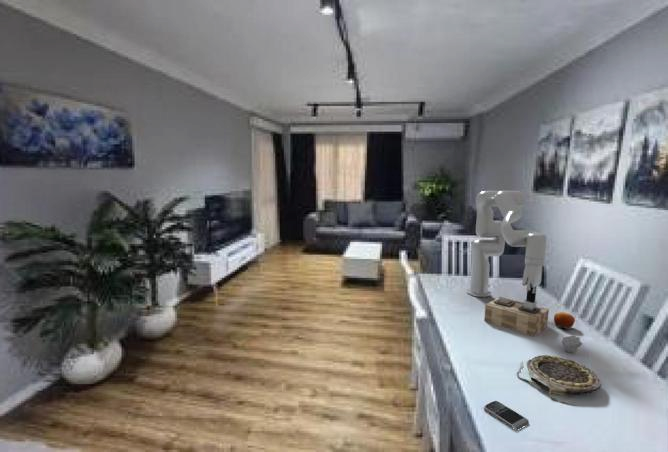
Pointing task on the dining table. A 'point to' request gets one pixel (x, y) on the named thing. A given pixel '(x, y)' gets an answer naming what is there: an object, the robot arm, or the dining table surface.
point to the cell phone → (506, 415)
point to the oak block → (516, 316)
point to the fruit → (564, 320)
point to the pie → (561, 375)
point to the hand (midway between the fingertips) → (530, 300)
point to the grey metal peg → (529, 305)
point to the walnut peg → (504, 301)
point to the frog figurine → (571, 343)
